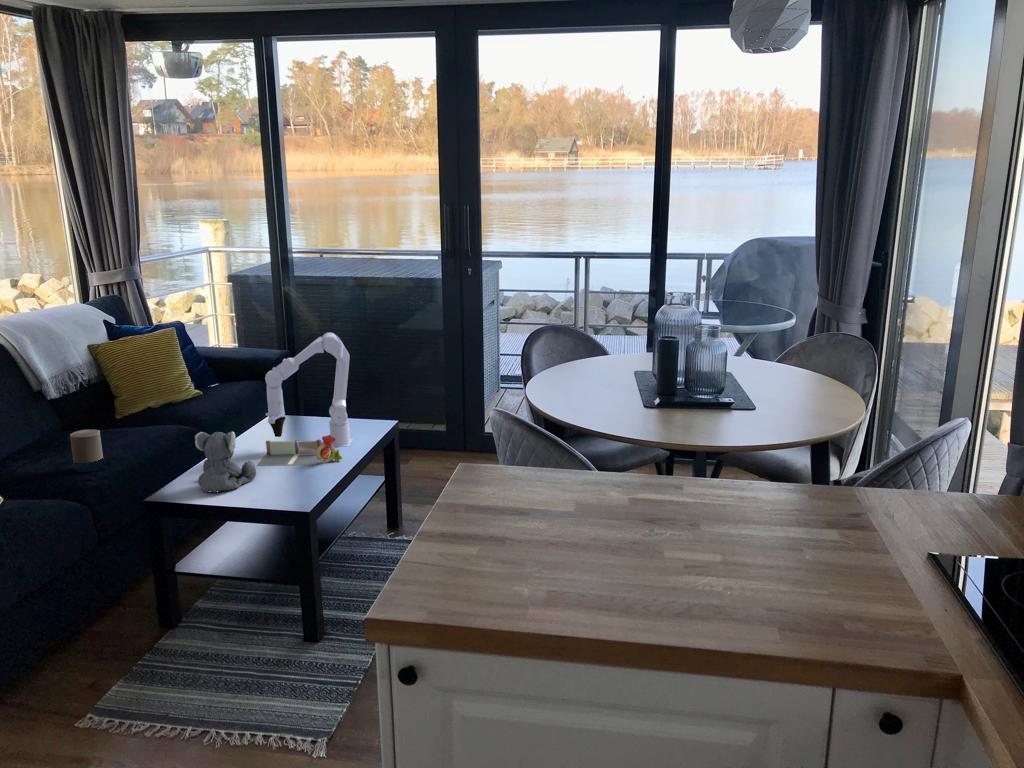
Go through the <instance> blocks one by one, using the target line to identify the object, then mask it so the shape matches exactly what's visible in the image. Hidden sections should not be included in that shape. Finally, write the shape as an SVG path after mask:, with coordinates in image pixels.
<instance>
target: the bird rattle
mask: <svg viewBox="0 0 1024 768" xmlns="http://www.w3.org/2000/svg"><path fill="white" fill-rule="evenodd" d="M335 440H336V439H335V438H333V437H332V436H331V435H330V434H328V435H325V436H324V435H323V436H322V437H321V441H323V443H321V445H320V446H319V447H318V448H317V451H316V456H317V458H318V459H319V462H321V464H326V463H329V462H332V460H334V461H335V462H339V461H340V460H342V459H343V457H342V455H340V449H336V447H334V446H333V445H332V444H331V443H333V442H334V441H335ZM323 448H324V449H323Z"/></svg>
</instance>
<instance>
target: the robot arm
mask: <svg viewBox="0 0 1024 768" xmlns="http://www.w3.org/2000/svg"><path fill="white" fill-rule="evenodd" d="M324 351H325V352H327V353H329V354H331V355H332V356H333V357H334V358H335V359H336V364H335V366H336V367H335V374H334V375H335V377H334V387H333V389H334V390H333V398H332V403H331V405H330V407H329V409H328V413H329V416H330V420H329V432H330V433H329V435H331V436H332V437H333V438H335V439H336V440H335V441H334V442H333V443H331V444H332V445H333V446H334V448H340V447H341V448H342V447H343V448H345V447H350V445H351V443H352V441H353V439H354V438H351V430H350V429H351V427H350V424H349V419H348V413H347V403H346V402H347V401H346V399H347V388H348V380H349V371H350V370H349V369H350V359H351V357H350V356H351V355H350V353H349V351H348V350H347V348H346V347H345V345H344V343H343V341H342V340H341V338H340V337H339V336H338V335H336V334H335V333H333V332H326V333H324V334H323V335H322V336H319V337H318V338H316V339H315V340H313V342H311V343H310V344H309V345H308V346H307V347H305V348H304V349H303V350H301V352H299V353H298V354H296V355H295V356H294V357H287V358H283V359H281V360H282V362H281V363H280V364H278V365H277V366H276V367H275V366H273V367H272V369H271V370H269V371H268V372H267V373H266V374H265V377H264V379H265V383H266V400H267V401H266V402H267V408H268V409H267V411H268V412H266V413H265V416H267V417H268V420H267V422H268V424H269V425H270V426H271V429H272V431H273V434H274V436H275V437H274V438H281V437H282V436H283V435H282V434H283V429H284V423H285V420H286V416H285V415H286V412H285V407H284V397H283V396H284V395H283V388H282V384H283V381H285V380H287V379H288V378H289V377H290V376H292V375H293V374H294V373H296V372H297V371H298V370H299V369H300V364H302V363H304V362H305V361H307V360H308V359H310V357H312V356H314V355H315V354H323V353H325V352H324Z"/></svg>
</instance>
